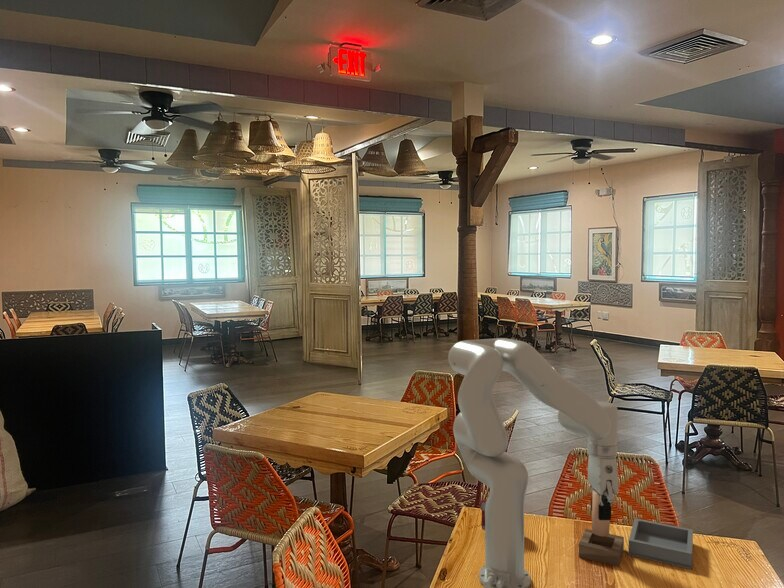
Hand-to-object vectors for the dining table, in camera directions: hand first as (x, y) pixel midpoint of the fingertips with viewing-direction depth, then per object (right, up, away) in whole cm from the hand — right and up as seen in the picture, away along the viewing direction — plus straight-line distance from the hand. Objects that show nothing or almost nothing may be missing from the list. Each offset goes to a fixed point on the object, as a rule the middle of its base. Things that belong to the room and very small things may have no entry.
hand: (600, 514), depth 149 cm
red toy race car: (-25, -11, +11) cm, 29 cm away
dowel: (0, -5, 0) cm, 5 cm away
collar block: (0, -11, +1) cm, 11 cm away
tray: (+18, -10, +2) cm, 21 cm away
